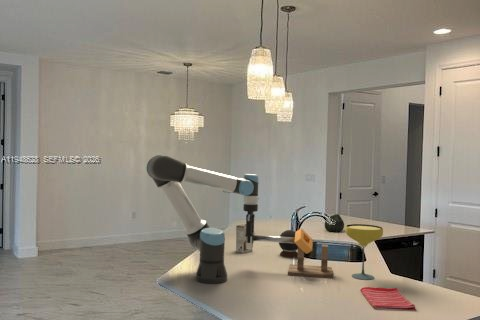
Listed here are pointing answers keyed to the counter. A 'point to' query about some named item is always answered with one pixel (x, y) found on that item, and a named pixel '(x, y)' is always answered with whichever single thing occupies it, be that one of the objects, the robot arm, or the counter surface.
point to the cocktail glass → (363, 241)
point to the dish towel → (386, 299)
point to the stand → (311, 270)
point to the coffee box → (241, 239)
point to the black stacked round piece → (288, 245)
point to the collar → (303, 241)
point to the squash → (337, 226)
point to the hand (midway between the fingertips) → (249, 247)
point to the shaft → (272, 239)
